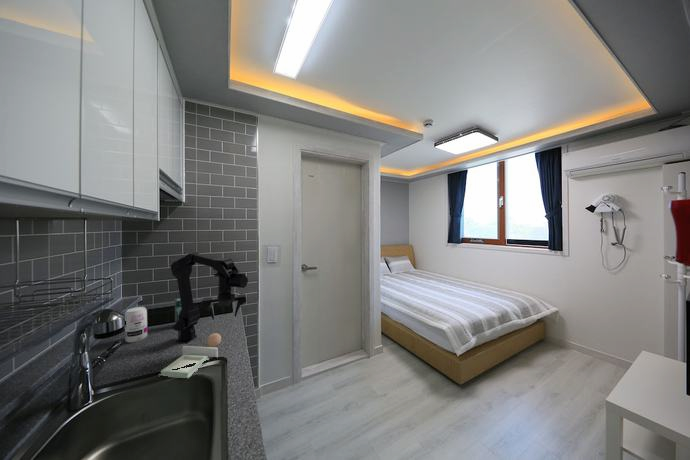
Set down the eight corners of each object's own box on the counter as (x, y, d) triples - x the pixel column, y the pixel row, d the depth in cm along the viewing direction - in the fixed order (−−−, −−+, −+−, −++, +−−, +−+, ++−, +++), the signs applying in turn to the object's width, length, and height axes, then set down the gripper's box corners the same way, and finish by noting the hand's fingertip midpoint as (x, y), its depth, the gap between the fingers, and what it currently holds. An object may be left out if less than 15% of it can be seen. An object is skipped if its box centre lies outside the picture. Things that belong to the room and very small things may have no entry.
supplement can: (138, 334, 120) (138, 305, 120) (151, 335, 118) (151, 307, 118) (120, 342, 112) (120, 311, 112) (134, 344, 110) (133, 313, 110)
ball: (203, 349, 106) (203, 336, 106) (212, 343, 112) (212, 330, 112) (215, 350, 105) (215, 337, 105) (224, 343, 111) (223, 331, 111)
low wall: (182, 355, 101) (181, 346, 101) (183, 354, 102) (183, 345, 102) (216, 357, 99) (216, 348, 99) (217, 356, 100) (217, 347, 100)
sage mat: (158, 376, 87) (158, 371, 87) (183, 358, 99) (183, 353, 99) (188, 378, 86) (188, 373, 86) (209, 359, 98) (209, 355, 98)
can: (178, 328, 127) (178, 301, 127) (173, 325, 130) (173, 299, 130) (190, 324, 132) (190, 298, 132) (185, 321, 135) (185, 296, 135)
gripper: (199, 292, 98) (199, 328, 99) (247, 288, 106) (246, 321, 107) (202, 285, 108) (202, 318, 109) (246, 282, 116) (245, 313, 117)
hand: (224, 318), depth 110 cm, fingers open, 9 cm apart
